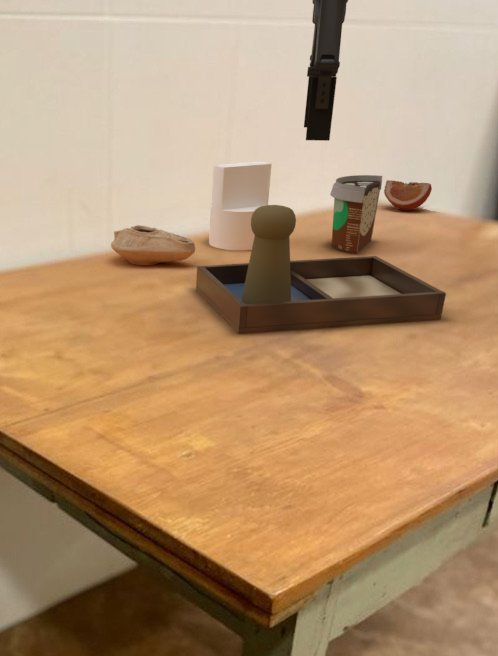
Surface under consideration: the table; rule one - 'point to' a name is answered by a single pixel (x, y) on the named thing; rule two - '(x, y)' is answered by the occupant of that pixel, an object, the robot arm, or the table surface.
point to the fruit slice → (407, 194)
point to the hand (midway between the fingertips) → (315, 133)
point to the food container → (354, 211)
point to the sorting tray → (323, 296)
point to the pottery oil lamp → (151, 245)
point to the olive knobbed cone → (270, 256)
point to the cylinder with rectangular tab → (237, 202)
